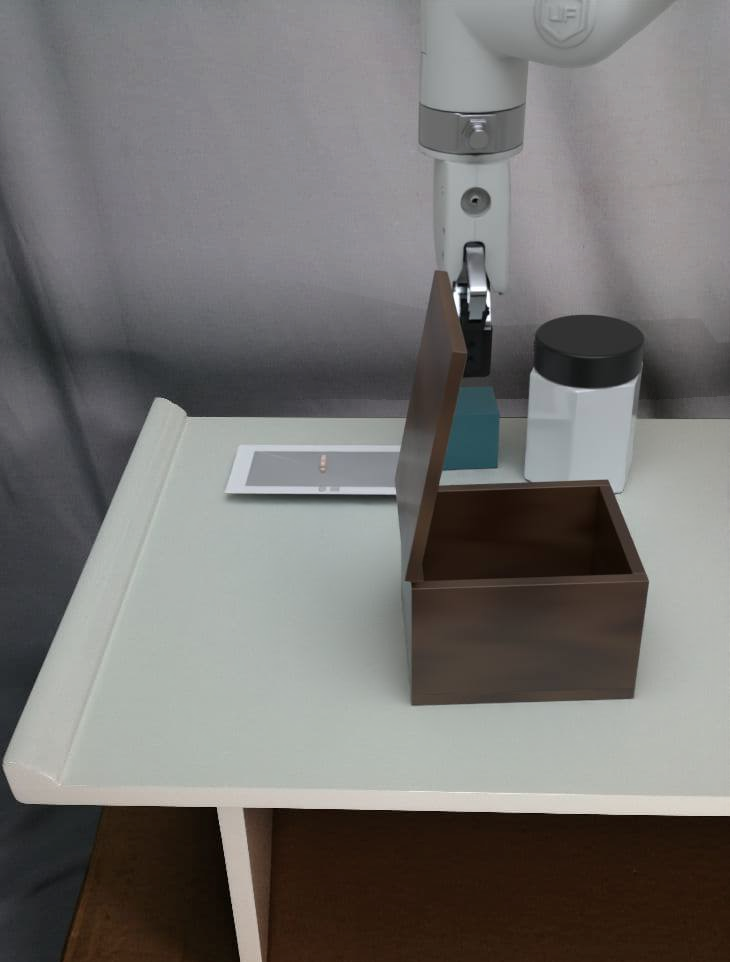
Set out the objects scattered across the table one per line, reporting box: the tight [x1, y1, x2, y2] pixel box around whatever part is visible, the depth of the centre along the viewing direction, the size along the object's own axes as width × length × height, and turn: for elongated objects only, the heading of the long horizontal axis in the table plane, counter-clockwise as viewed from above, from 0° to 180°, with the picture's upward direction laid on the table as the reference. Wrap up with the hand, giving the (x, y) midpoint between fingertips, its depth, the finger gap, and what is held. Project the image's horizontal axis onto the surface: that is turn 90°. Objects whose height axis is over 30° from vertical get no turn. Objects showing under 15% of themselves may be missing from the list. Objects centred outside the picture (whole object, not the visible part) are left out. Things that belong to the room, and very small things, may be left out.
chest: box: [400, 479, 650, 706], centre depth 74 cm, size 14×12×9 cm
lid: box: [395, 269, 468, 583], centre depth 68 cm, size 14×12×1 cm
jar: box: [523, 314, 646, 494], centre depth 92 cm, size 9×8×12 cm
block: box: [442, 385, 501, 471], centre depth 97 cm, size 5×5×5 cm
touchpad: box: [224, 444, 401, 496], centre depth 95 cm, size 8×15×2 cm, turn 85°
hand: (462, 349), depth 93 cm, fingers open, 9 cm apart
